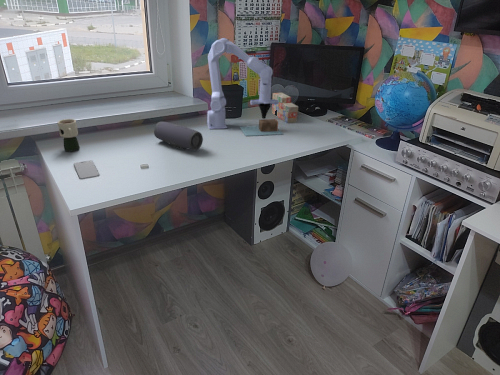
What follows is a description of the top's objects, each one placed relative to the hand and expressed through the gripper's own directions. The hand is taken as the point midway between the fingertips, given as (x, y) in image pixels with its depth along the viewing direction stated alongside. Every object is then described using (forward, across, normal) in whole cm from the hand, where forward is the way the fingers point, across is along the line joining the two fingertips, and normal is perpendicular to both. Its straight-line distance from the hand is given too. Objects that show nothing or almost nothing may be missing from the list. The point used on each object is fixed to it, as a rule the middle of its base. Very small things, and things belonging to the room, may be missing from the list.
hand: (263, 118), depth 195 cm
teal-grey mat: (+7, -1, 0) cm, 7 cm away
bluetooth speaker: (+7, -45, -16) cm, 48 cm away
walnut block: (+4, -2, 0) cm, 4 cm away
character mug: (+7, -91, -14) cm, 92 cm away
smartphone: (+8, -82, -37) cm, 90 cm away
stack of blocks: (+7, +19, +22) cm, 30 cm away
